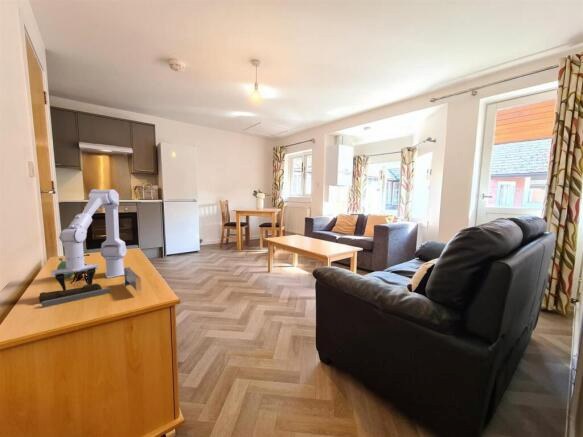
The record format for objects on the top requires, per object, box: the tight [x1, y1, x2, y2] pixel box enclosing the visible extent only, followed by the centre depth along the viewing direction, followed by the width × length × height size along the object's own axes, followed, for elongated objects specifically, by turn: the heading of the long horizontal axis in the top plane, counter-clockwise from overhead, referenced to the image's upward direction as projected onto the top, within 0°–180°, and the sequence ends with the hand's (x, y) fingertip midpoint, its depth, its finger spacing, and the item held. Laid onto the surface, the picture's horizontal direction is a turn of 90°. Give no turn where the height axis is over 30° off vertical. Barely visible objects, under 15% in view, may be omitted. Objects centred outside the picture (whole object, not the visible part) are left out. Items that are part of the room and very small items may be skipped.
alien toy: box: [56, 257, 75, 279], centre depth 120 cm, size 7×8×10 cm
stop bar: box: [41, 287, 111, 308], centre depth 95 cm, size 2×20×2 cm, turn 133°
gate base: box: [122, 282, 132, 287], centre depth 112 cm, size 4×4×1 cm
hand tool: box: [38, 283, 103, 304], centre depth 96 cm, size 19×4×5 cm, turn 116°
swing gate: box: [123, 266, 142, 292], centre depth 105 cm, size 21×2×7 cm, turn 45°
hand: (77, 289), depth 101 cm, fingers open, 7 cm apart
